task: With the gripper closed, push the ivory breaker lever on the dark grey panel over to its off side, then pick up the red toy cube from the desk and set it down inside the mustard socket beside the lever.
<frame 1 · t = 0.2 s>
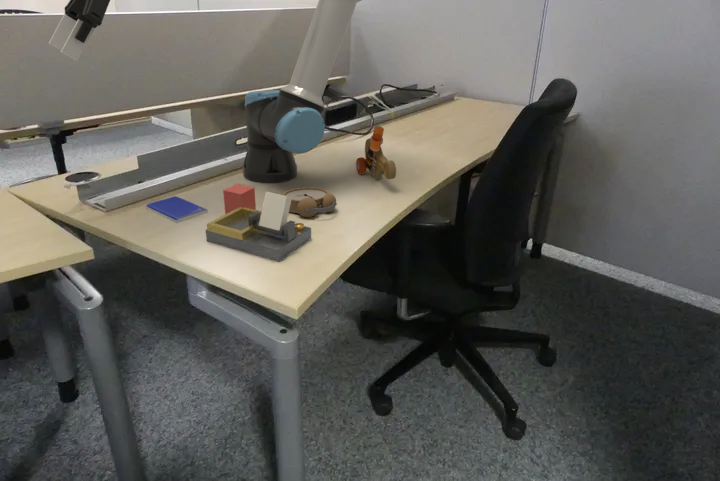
hand: (61, 52, 97), 36 cm above the table, tool tilted 35°, fingers open, 13 cm apart
wheeled toy: (377, 180, 146), on the table
red toy cube: (240, 213, 122), on the table
blue book: (177, 213, 122), on the table
panel: (259, 239, 109), on the table
toggle: (274, 213, 105), point 7 cm above the table, hinge at -25.0°
alarm clock: (310, 210, 125), on the table
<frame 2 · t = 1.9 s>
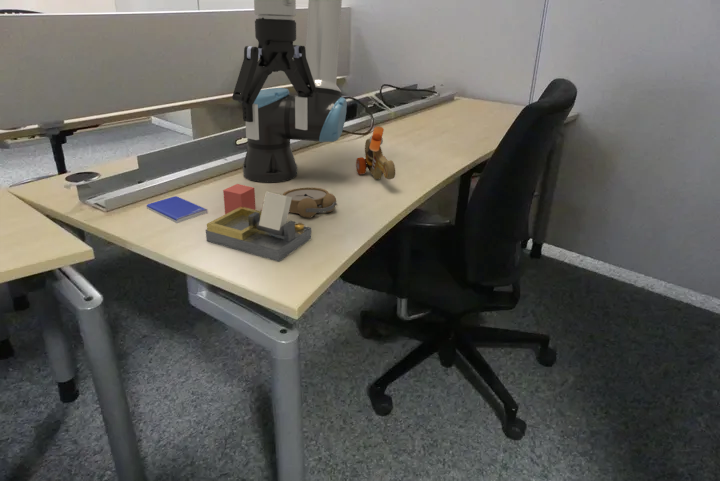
hand: (278, 133, 103), 22 cm above the table, tool pointing down, fingers open, 13 cm apart
nothing on the table moved.
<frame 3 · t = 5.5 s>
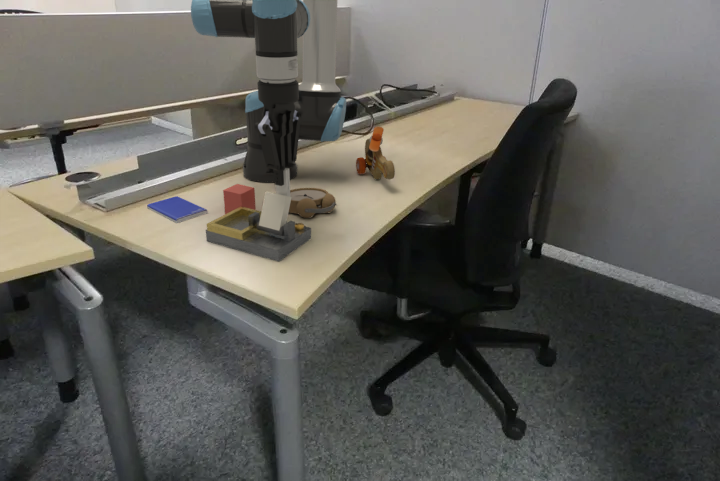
hand: (283, 198, 106), 9 cm above the table, tool pointing down, fingers closed
toggle: (274, 213, 105), point 7 cm above the table, hinge at -23.5°, touching gripper
everything else where it was.
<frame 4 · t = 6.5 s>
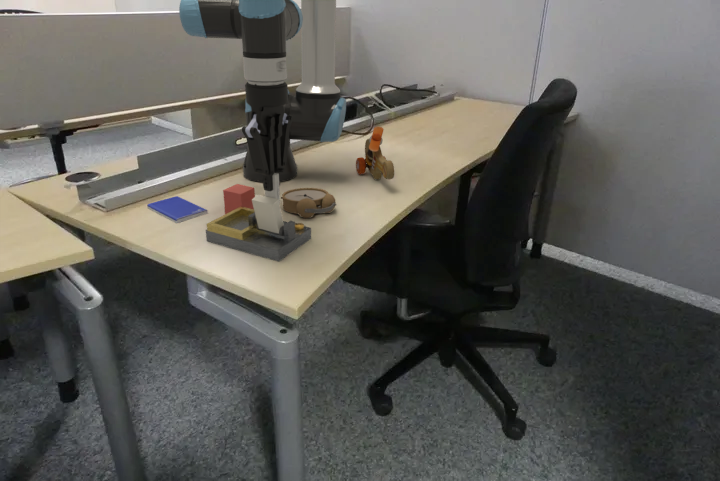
hand: (272, 204, 103), 9 cm above the table, tool pointing down, fingers closed
toggle: (268, 216, 103), point 7 cm above the table, hinge at 14.2°, touching gripper
everything else where it was.
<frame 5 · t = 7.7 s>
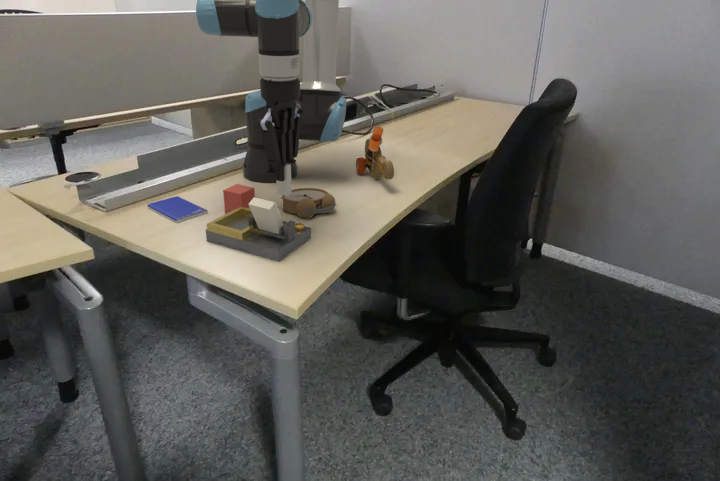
hand: (284, 193, 109), 9 cm above the table, tool pointing down, fingers closed
toggle: (267, 217, 103), point 7 cm above the table, hinge at 23.9°
everything else where it was.
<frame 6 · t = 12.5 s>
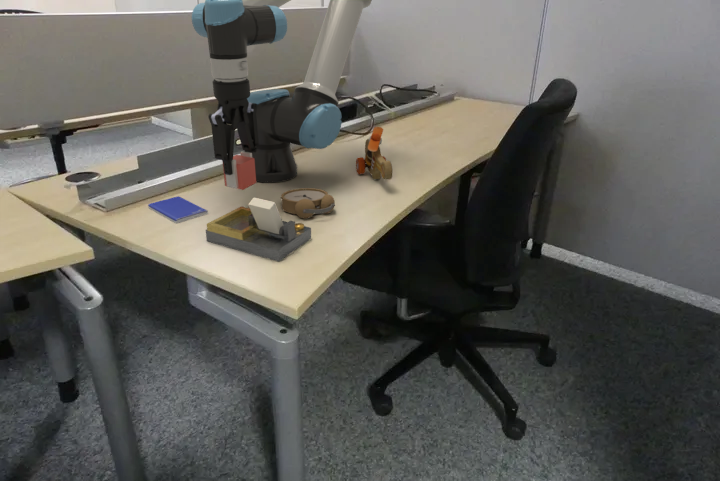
hand: (240, 182, 119), 7 cm above the table, tool pointing down, fingers closed on red toy cube, 5 cm apart
red toy cube: (240, 184, 119), point 7 cm above the table, touching gripper
everything else where it was.
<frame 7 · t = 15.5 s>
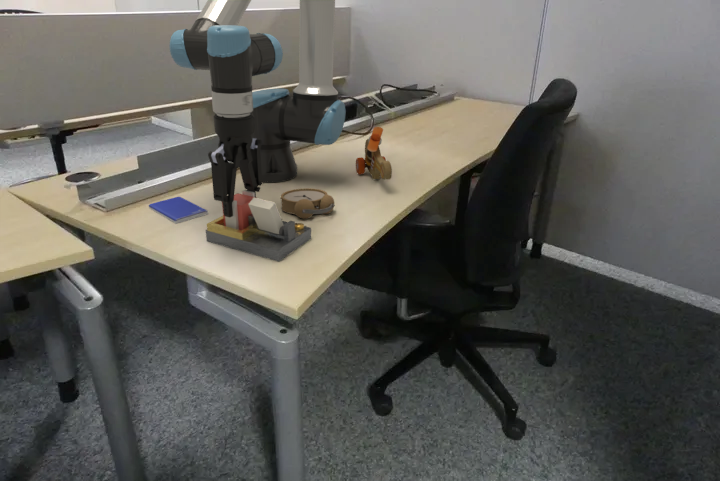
hand: (241, 224, 109), 3 cm above the table, tool pointing down, fingers closed on red toy cube, 5 cm apart
red toy cube: (241, 225, 109), point 2 cm above the table, touching gripper, panel
everything else where it was.
when the fingers open (3 cm above the table, at t = 16.9 s): red toy cube stays where it is, resting on panel.
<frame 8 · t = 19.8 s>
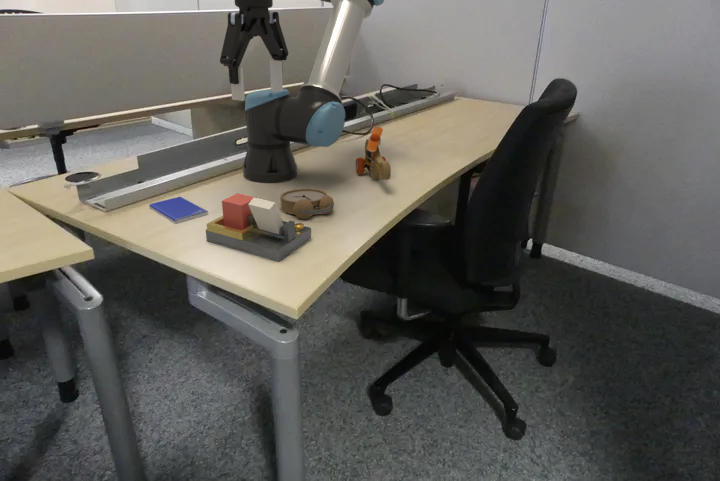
hand: (258, 95, 112), 27 cm above the table, tool pointing down, fingers open, 13 cm apart
red toy cube: (241, 225, 109), point 2 cm above the table, touching panel
at the end: toggle at +24° (first picture: -25°); red toy cube inside the target area (0.1 cm from its centre), point 2.5 cm above the table; the gripper is holding nothing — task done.
